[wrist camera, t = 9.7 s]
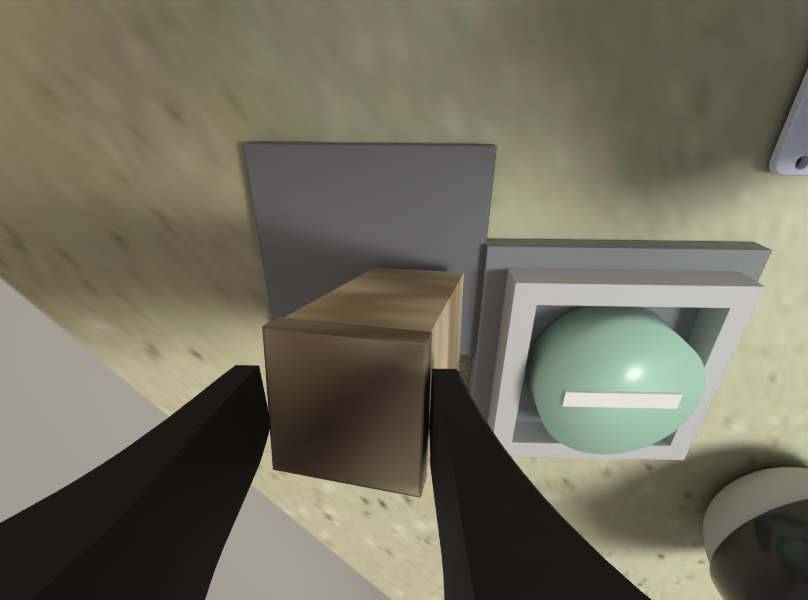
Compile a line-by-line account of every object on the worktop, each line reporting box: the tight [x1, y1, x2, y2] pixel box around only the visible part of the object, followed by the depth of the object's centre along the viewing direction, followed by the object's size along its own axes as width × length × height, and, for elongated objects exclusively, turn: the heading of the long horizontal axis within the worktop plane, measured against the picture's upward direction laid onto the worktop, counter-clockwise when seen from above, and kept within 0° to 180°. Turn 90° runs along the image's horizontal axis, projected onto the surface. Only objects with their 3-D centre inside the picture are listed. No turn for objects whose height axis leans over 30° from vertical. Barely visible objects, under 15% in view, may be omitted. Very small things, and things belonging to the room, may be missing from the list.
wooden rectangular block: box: [262, 267, 464, 498], centre depth 14 cm, size 4×4×9 cm
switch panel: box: [469, 239, 772, 460], centre depth 20 cm, size 12×12×2 cm
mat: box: [243, 142, 497, 356], centre depth 19 cm, size 10×10×1 cm
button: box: [526, 306, 706, 454], centre depth 19 cm, size 7×7×3 cm
